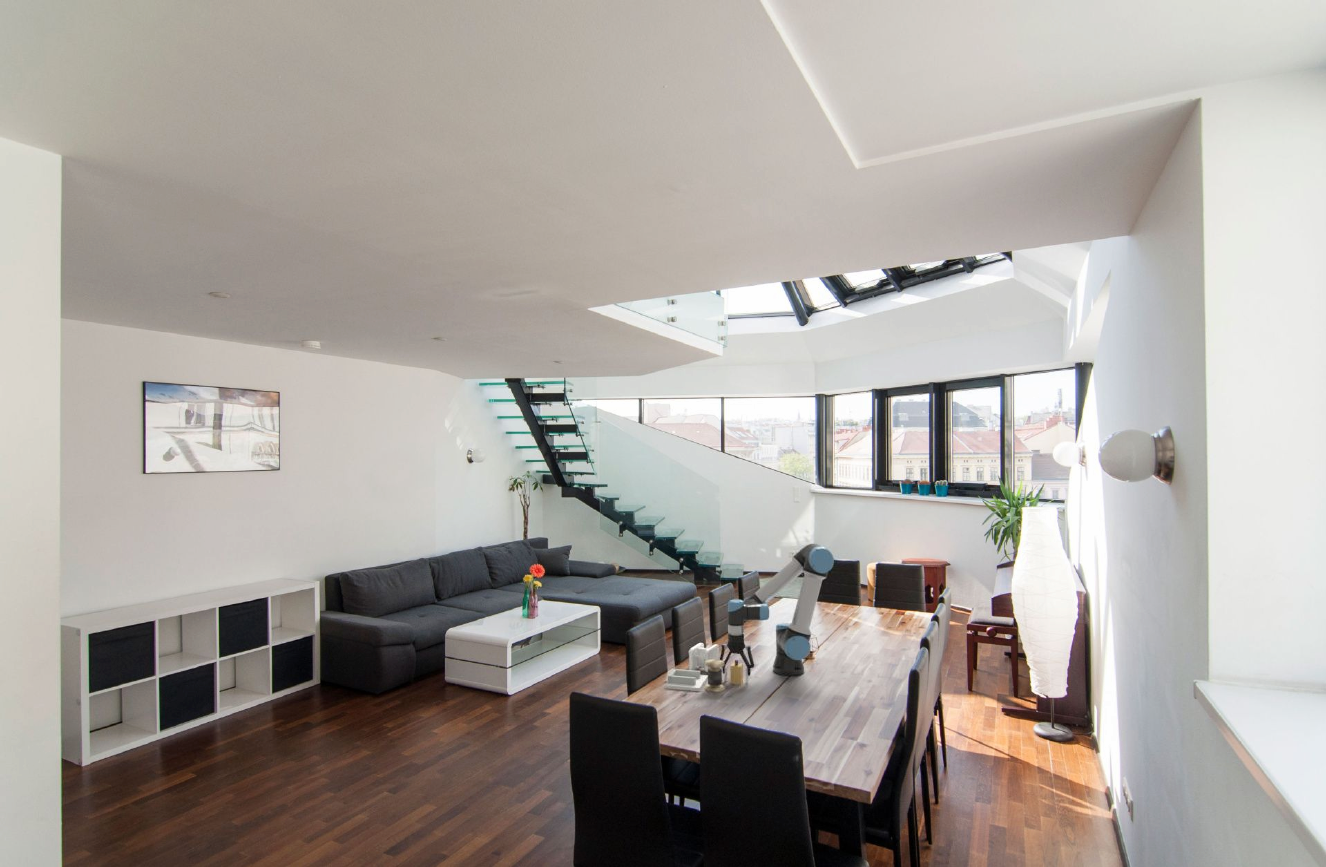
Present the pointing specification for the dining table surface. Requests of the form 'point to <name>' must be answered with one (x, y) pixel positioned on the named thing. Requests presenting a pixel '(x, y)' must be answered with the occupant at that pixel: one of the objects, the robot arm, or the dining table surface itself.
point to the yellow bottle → (736, 672)
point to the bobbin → (714, 676)
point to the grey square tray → (686, 680)
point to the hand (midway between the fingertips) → (736, 681)
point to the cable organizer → (702, 656)
